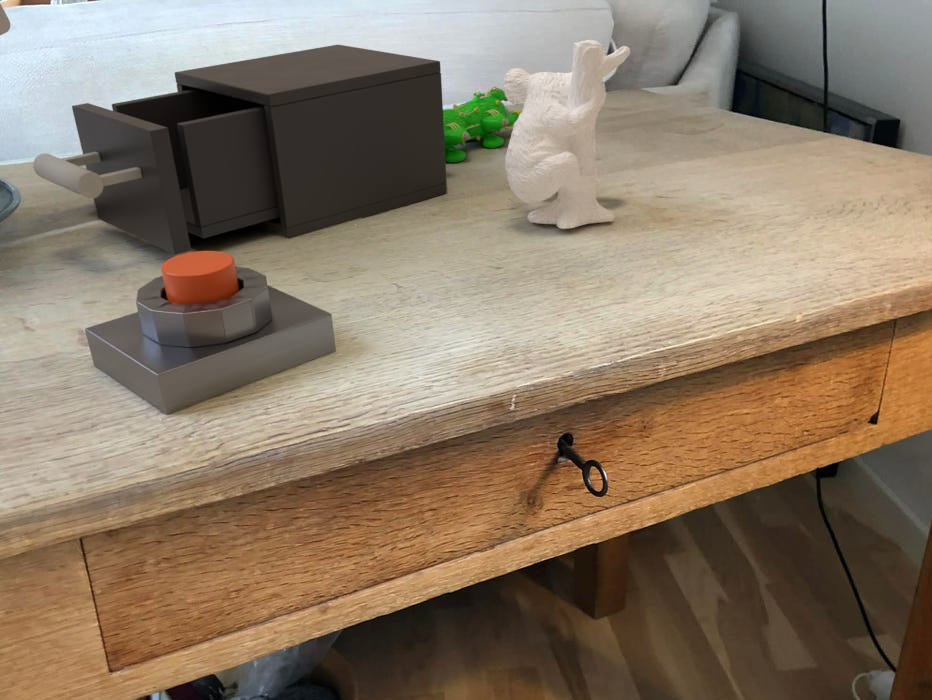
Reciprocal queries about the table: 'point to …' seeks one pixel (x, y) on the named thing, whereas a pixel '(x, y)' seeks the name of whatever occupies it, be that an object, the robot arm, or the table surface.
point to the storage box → (341, 130)
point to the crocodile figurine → (476, 122)
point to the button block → (208, 342)
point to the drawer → (172, 166)
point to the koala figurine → (560, 136)
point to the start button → (200, 277)
